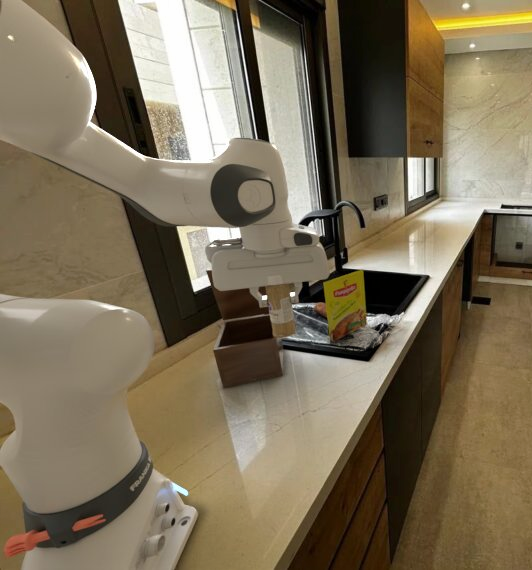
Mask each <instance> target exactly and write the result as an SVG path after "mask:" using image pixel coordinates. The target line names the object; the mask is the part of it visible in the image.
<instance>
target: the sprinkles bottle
mask: <svg viewBox="0 0 532 570" xmlns="http://www.w3.org/2000/svg"><path fill="white" fill-rule="evenodd" d="M267 280H268V285H270V286H265V289H266V294H267V299H268V301H267V302H268V308H269V313H270V319H271V323H272V329H273V336H274V337H277V338H282V339H284V338H289V337H291V336H293V335H294V334H296V332H297V328H296V324H295V319H294V318H295V316H294V308H293V303H292V304H291V299H290V293H291V291H290V285H289V283H288V284H283V281H282V276H281V275H274V276H268V277H267Z"/></svg>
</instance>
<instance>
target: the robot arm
mask: <svg viewBox="0 0 532 570" xmlns="http://www.w3.org/2000/svg"><path fill="white" fill-rule="evenodd" d="M96 103H97V88H96V83H95V79H94V76H93V73H92V70H91V69H90V66H89V64H88V62H87V60H86V58H85V57H84V55H83V53H82V52H81V51H80V50H79V49H78V48H77V47H76V46H75V45H74V44H73V43H72V42H71V41H70V40H69V39H68V38H67V37H66V36H65V35H64V34H63V33H62V32H60V31H59V29H58V28H57V27H55V26H54V25H53V24H52V23H51V22H50V21H48V20H47V19H46V18H45V17H44V16H42V14H40V13H39V12H37V11H36V10H35V9H33V7H31V6H30V5H29V4H27V3H26V2H25V1H23V0H0V141H3V142H5V143H8V144H10V145H11V146H14V147H17V148H19V149H22V150H25V151H26V152H28V153H30V154H33V155H34V156H36V157H38V158H40V159H43V160H44V161H47V162H49V163H50V164H53V165H55V166H57V167H59V168H61V169H63V170H65V171H68V172H70V173H72V174H74V175H75V176H78V177H80V178H83V179H84V180H87V181H89V182H90V183H93V184H95V185H97V186H99V187H101V188H103V189H105V190H107V191H110V192H112V193H113V194H115V195H117V196H118V197H120V198H121V199H123V200H124V201H125V202H126V203H128V204H129V205H130V206H131V207H132V208H133V209H135V211H136V212H138V213H139V214H140V215H141V216H142V217H144V218H145V219H147V220H148V221H150V222H152V223H154V224H156V225H159V226H163V227H201V228H202V227H203V228H222V229H223V228H225V229H238V228H239V233H240V237H230V238H216V239H213V240H212V241H211V242H208V243H207V244H206V245H205V248H204V250H205V256H206V260H207V261H208V262H209V263H210V264H211V269H212V278H213V284H214V287H215V288H217V289H218V290H219V291H227V290H235V289H244V288H249V289H250V293H251V294H252V295H253V296H254V297H255V298H256V299H257V300H258V301H259V306H260V308H263V307H268V302H267V301H268V299H267V296H262V295H261V294H260V293H259V291H258V290H259V287H262V286H270V285H268V280H267V277H268V276H274V275H281V276H282V281H283V284H288V285H289V284H294V288H295V289H294V291H293V292H290V299H291V304H292V305H293V304H299V303H300V301H299V294H300V293H301V291H302V288H303V282H305V283H306V282H313V281H322V280H327V279H328V278H329V276H330V275H331V269H330V265H329V261H328V258H327V254H326V251H325V248H324V246H323V244H322V243H321V242H320V234H319V232H318V230H317V229H316V228H314V227H311V226H308V225H307V226H306V225H302V224H298V223H294V222H293V217H292V214H291V211H290V209H289V205H288V199H289V189H288V183H287V176H286V172H285V167H284V164H283V160H282V158H281V154H280V152H279V150H278V148H277V147H276V146H275V144H272V143H271V142H269V141H266V140H262V139H259V138H251V137H233V138H229V139H228V140H227V141H226V142H227V143H226V147H225V148H224V150H222V151H221V152H220V153H219V154H217V155H216V156H214V157H212V158H209V159H208V160H172V159H171V160H169V159H163V158H162V159H161V158H153V157H150V156H146V155H143V154H141V153H139V152H137V150H134V148H131V147H130V146H128V145H127V144H125V143H124V142H122V141H121V140H119V139H117V138H116V137H115V136H113V135H111V134H110V133H108V132H106V131H105V130H103V128H100V127H99V126H97V125H96V124H94V123H93V122H91V120H92V116H93V114H94V111H95V109H96V107H95V106H96ZM153 331H154V330H153V328H152V326H151V324H150V323H149V321H148V320H147V319H146V317H144V316H143V315H142V314H140V313H139V312H137V311H136V310H133V309H129V308H125V307H122V306H118V305H114V304H110V303H106V302H101V301H96V300H91V299H76V298H75V299H74V298H73V299H71V298H41V297H39V298H37V297H26V296H25V297H24V296H15V295H9V294H3V293H0V404H2V405H4V406H5V407H7V409H8V410H9V411H10V412H11V414H12V416H13V420H14V426H15V429H14V430H13V432H12V433H10V435H9V436H8V437H7V438H6V439H5V440H4V441H3V443H2V445H1V447H0V467H1V468H2V470H3V471H4V473H5V474H6V476H7V479H8V480H9V481H10V482H11V484H12V485H13V487H14V489H15V490H16V492H17V493H18V495H19V496H20V498H21V500H22V504H21V505H22V516H21V517H22V518H21V519H22V523H23V524H24V531H25V533H20V534H15V535H12V536H11V537H9V538H8V539H7V541H6V543H5V545H4V547H3V549H4V550H3V553H4V556H5V557H6V558H12V557H15V556H18V555H19V554H22V553H25V554H24V557H23V560H22V564H21V567H20V570H175V569H176V567H177V565H178V562H179V560H180V558H181V556H182V553H183V551H184V549H185V547H186V544H187V542H188V540H189V538H190V536H191V534H192V531H193V529H194V527H195V524H196V521H197V520H198V518H199V511H198V510H197V508H195V507H194V506H192V505H187V504H185V503H184V501H183V499H182V497H181V496H180V494H183V495H184V496H188V495H189V492H188V490H186V489H185V488H182V487H181V486H179V485H178V484H176V483H175V482H173V481H172V480H170V478H169V477H167V476H165V475H163V474H162V473H160V472H159V471H158V470H156V469H155V468H154V462H153V460H152V455H151V453H150V450H149V449H148V447H147V446H146V444H145V443H144V441H142V440H140V439H139V437H138V434H137V431H136V429H135V426H134V425H133V421H132V418H131V415H130V412H129V409H128V403H127V399H128V391H129V388H130V387H131V386H132V385H133V384H134V383H136V382H137V380H139V379H140V378H141V376H142V375H143V374H144V373H145V371H146V370H147V369H148V367H149V365H150V364H151V362H152V359H153V357H154V353H155V346H156V344H155V343H156V341H155V340H156V339H155V334H154V332H153ZM179 493H180V494H179Z"/></svg>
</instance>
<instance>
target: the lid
mask: <svg viewBox="0 0 532 570" xmlns="http://www.w3.org/2000/svg"><path fill="white" fill-rule="evenodd" d="M205 272H206V275H207V278H208V281H209V283H210V287H211V290H212V292H213V295H214V298H215V301H216V304H217V307H218V310H219V313H220V316H221V319H222V321H228V320H234V319H241V318H248V317H255V316H261V315H268V314H270V313H269V308H268V307H263V308H260V306H259V301H258V300H257V299H256V298H255V297H254V296H253V295H252V294H251V293H250V289H249V288H244V289H235V290H227V291H219V290H218V289H217V288H215V287H214V284H213V278H212V268H206V269H205ZM258 291H259V293H260V294H261V295H262V296H267V294H266V289H265V286H262V287H259V290H258Z"/></svg>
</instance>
